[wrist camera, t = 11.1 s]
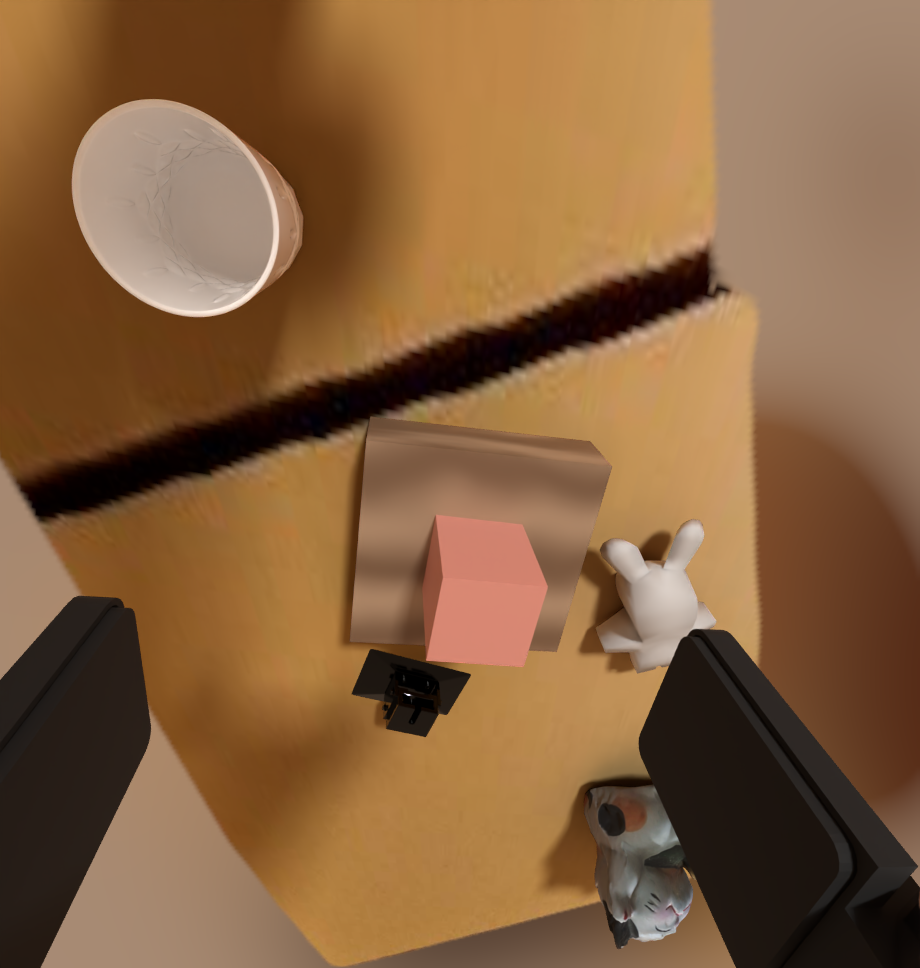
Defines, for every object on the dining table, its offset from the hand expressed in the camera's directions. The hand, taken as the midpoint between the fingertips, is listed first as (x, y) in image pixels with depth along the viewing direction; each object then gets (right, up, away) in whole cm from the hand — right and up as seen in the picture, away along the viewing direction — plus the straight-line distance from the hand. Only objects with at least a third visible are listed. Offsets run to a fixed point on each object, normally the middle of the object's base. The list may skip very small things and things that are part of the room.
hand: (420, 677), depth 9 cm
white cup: (-12, +19, +21) cm, 31 cm away
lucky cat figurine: (+20, -31, +49) cm, 62 cm away
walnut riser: (+1, 0, +32) cm, 32 cm away
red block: (+1, -2, +27) cm, 28 cm away
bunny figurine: (+16, -5, +36) cm, 40 cm away
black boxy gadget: (-4, -14, +39) cm, 42 cm away
